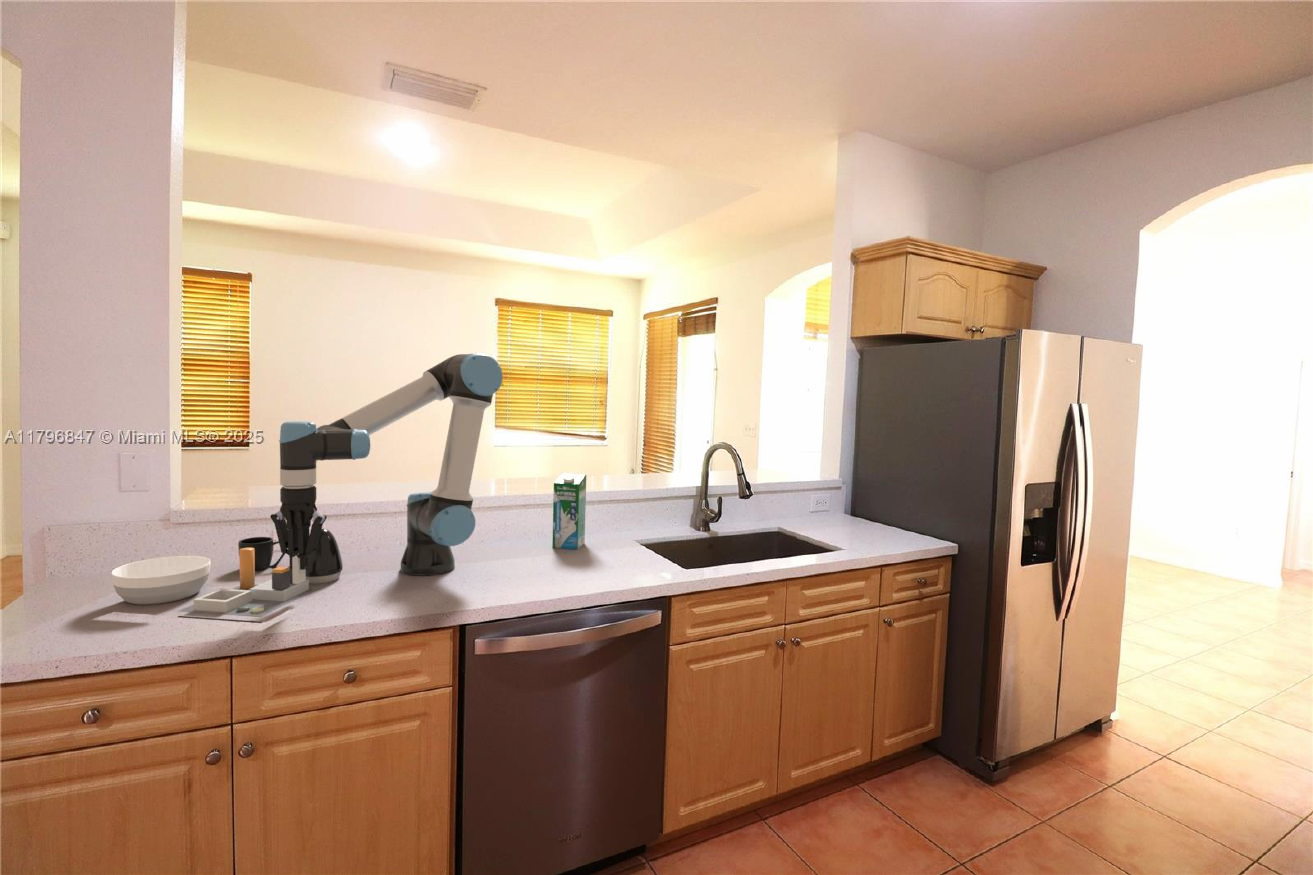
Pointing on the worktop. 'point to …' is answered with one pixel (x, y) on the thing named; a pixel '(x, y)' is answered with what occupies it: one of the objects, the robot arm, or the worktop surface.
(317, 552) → the black domed piece
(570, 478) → the milk carton
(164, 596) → the bowl
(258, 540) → the mug
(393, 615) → the worktop surface
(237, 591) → the panel board
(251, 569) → the pin
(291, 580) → the block
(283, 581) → the block
